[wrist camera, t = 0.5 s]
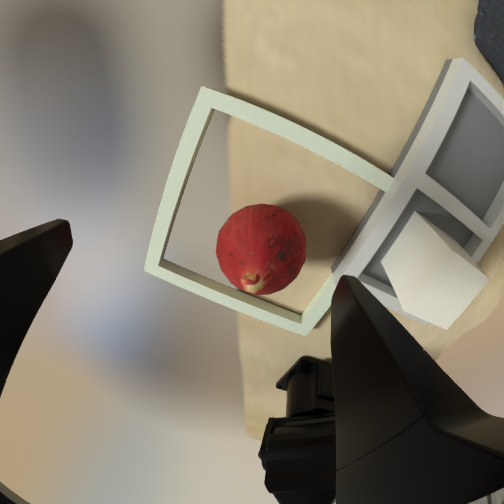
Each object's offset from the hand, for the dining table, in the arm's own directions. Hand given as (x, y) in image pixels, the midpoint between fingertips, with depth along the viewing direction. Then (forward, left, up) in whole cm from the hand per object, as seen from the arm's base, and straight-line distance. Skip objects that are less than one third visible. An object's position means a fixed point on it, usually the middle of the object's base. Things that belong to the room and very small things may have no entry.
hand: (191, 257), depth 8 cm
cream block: (0, -15, -12) cm, 19 cm away
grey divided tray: (+5, -15, -13) cm, 21 cm away
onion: (-4, -3, -13) cm, 14 cm away
